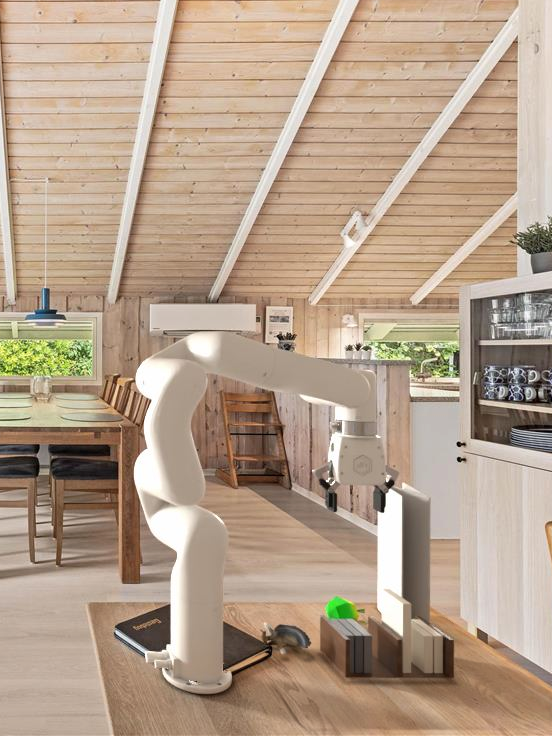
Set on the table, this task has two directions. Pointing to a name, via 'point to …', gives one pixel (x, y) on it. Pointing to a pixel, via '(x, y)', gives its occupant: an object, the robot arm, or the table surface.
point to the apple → (342, 609)
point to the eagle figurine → (286, 638)
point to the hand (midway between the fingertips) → (355, 510)
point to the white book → (398, 623)
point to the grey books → (357, 645)
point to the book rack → (379, 652)
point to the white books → (426, 647)
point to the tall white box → (405, 548)
